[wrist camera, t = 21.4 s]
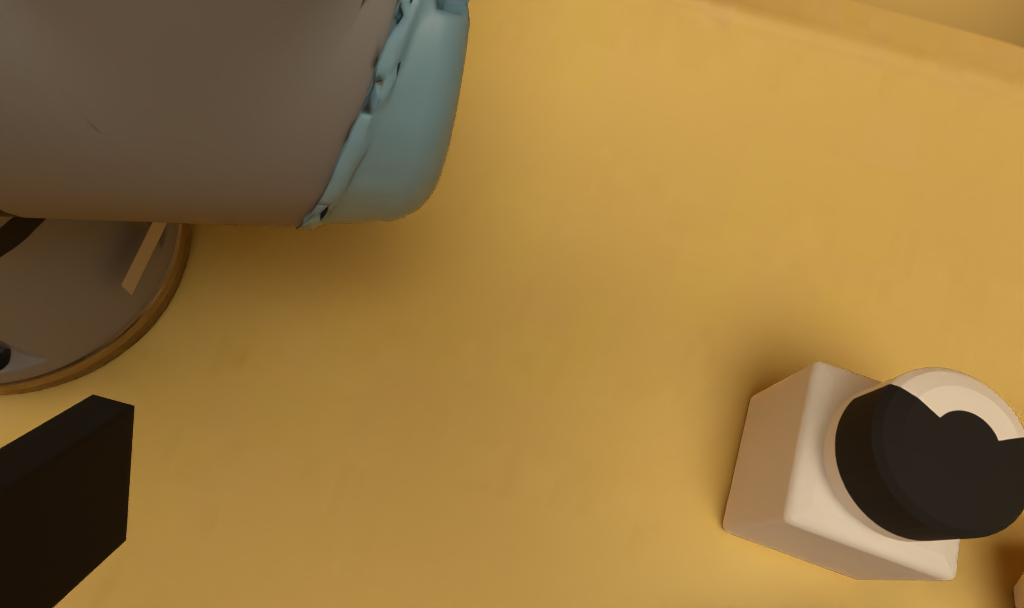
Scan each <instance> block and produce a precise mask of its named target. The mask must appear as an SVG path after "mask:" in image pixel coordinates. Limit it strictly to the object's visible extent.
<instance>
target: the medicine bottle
mask: <svg viewBox="0 0 1024 608" xmlns="http://www.w3.org/2000/svg"><path fill="white" fill-rule="evenodd" d="M1023 510H1024V428H1023V426H1022V424H1021V423H1020V421H1019V419H1018V418H1017V416H1016V415H1015V413H1014V412H1013V411H1012V409H1011V408H1010V407H1009V406H1008V404H1007V403H1006V402H1005V401H1004V400H1003V399H1002V398H1001V397H1000V396H999V395H997V394H996V393H995V392H994V391H993V390H992V389H990V388H989V387H988V386H986V385H985V384H983V383H982V382H980V381H979V380H977V379H975V378H973V377H971V376H969V375H967V374H964V373H962V372H959V371H956V370H952V369H948V368H940V367H926V368H921V369H916V370H913V371H910V372H907V373H905V374H902V375H900V376H898V377H895V378H893V379H890V380H888V381H886V382H883V383H882V382H879V381H876V380H874V379H871V378H868V377H865V376H862V375H860V374H857V373H854V372H851V371H848V370H846V369H843V368H840V367H837V366H834V365H832V364H829V363H826V362H823V361H817V362H815V363H813V364H811V365H809V366H807V367H805V368H803V369H802V370H800V371H798V372H796V373H794V374H792V375H791V376H789V377H787V378H785V379H783V380H781V381H780V382H778V383H776V384H774V385H772V386H770V387H769V388H767V389H765V390H763V391H761V392H759V393H758V394H756V395H754V396H752V398H751V400H750V403H749V408H748V412H747V417H746V421H745V426H744V430H743V435H742V439H741V444H740V448H739V453H738V457H737V462H736V466H735V471H734V475H733V480H732V484H731V489H730V493H729V498H728V502H727V507H726V511H725V515H724V520H723V528H724V530H725V531H726V532H728V533H730V534H732V535H735V536H738V537H741V538H744V539H746V540H749V541H752V542H755V543H757V544H760V545H763V546H766V547H768V548H771V549H774V550H777V551H779V552H782V553H785V554H788V555H790V556H793V557H796V558H799V559H801V560H804V561H807V562H810V563H813V564H815V565H818V566H821V567H824V568H826V569H829V570H832V571H835V572H837V573H840V574H843V575H846V576H848V577H851V578H854V579H859V580H920V581H950V580H952V579H953V578H955V575H956V570H957V561H958V551H959V542H960V539H970V538H980V537H986V536H990V535H993V534H996V533H998V532H1000V531H1002V530H1004V529H1005V528H1007V527H1008V526H1009V525H1011V524H1012V523H1013V522H1014V521H1015V520H1016V519H1017V518H1018V517H1019V515H1020V514H1021V513H1022V511H1023Z"/></svg>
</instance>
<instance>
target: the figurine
mask: <svg viewBox="0 0 1024 608" xmlns="http://www.w3.org/2000/svg"><path fill="white" fill-rule="evenodd" d="M1013 591H1014V599H1015V607H1016V608H1024V573H1023V575H1022V576H1021V578H1020V579H1019V581H1018V582H1017V583H1016V585H1015V586H1014V588H1013Z"/></svg>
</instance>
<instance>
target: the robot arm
mask: <svg viewBox="0 0 1024 608" xmlns="http://www.w3.org/2000/svg"><path fill="white" fill-rule="evenodd" d="M468 2H469V0H0V395H11V394H22V393H28V392H33V391H39V390H43V389H47V388H50V387H54V386H58V385H61V384H63V383H66V382H69V381H72V380H74V379H77V378H79V377H81V376H83V375H85V374H88V373H90V372H92V371H94V370H95V369H97V368H99V367H101V366H103V365H104V364H106V363H108V362H109V361H111V360H112V359H114V358H115V357H117V356H118V355H120V354H121V353H122V352H123V351H125V350H126V349H127V348H128V347H130V346H131V345H132V344H133V343H135V342H136V341H137V340H138V339H139V338H140V337H141V336H142V335H143V334H144V333H145V332H146V331H147V330H148V329H149V328H150V326H151V325H152V324H153V323H154V322H155V321H156V320H157V318H158V317H159V316H160V314H161V313H162V312H163V310H164V309H165V308H166V306H167V304H168V303H169V301H170V299H171V298H172V296H173V294H174V292H175V290H176V288H177V286H178V284H179V282H180V279H181V277H182V274H183V271H184V268H185V265H186V261H187V257H188V251H189V244H190V223H192V224H220V225H248V226H277V227H295V228H296V229H301V230H304V229H307V230H311V229H314V228H316V227H318V226H319V225H320V224H344V223H369V222H389V221H394V220H397V219H400V218H404V217H405V216H406V215H409V214H411V213H413V212H415V211H416V210H418V209H419V208H420V207H421V206H422V205H423V204H424V203H425V202H426V201H427V200H428V199H429V197H430V196H431V194H432V193H433V191H434V189H435V187H436V185H437V183H438V181H439V178H440V176H441V173H442V170H443V166H444V163H445V160H446V156H447V152H448V148H449V144H450V140H451V135H452V131H453V126H454V121H455V116H456V111H457V105H458V99H459V94H460V88H461V82H462V76H463V70H464V63H465V56H466V48H467V40H468V32H469V24H470V23H469V10H468ZM133 422H134V406H133V405H129V404H126V403H122V402H118V401H115V400H111V399H107V398H104V397H100V396H97V395H91V396H89V397H88V398H86V399H84V400H83V401H81V402H79V403H77V404H76V405H74V406H72V407H71V408H69V409H67V410H65V411H64V412H62V413H60V414H59V415H57V416H55V417H54V418H52V419H50V420H48V421H47V422H45V423H43V424H42V425H40V426H38V427H36V428H35V429H33V430H31V431H30V432H28V433H26V434H24V435H23V436H21V437H19V438H18V439H16V440H14V441H13V442H11V443H9V444H7V445H6V446H4V447H2V448H1V449H0V608H53V607H54V606H55V605H56V604H57V603H58V602H59V601H60V600H61V599H63V598H64V597H65V596H66V595H67V594H68V593H69V592H70V591H71V590H72V589H73V588H75V587H76V586H77V585H78V584H79V583H80V582H81V581H82V580H83V579H84V578H85V577H86V576H88V575H89V574H90V573H91V572H92V571H93V570H94V569H95V568H96V567H97V566H98V565H100V564H101V563H102V562H103V561H104V560H105V559H106V558H107V557H108V556H109V555H110V554H112V553H113V552H114V551H115V550H116V549H117V548H118V547H119V546H120V545H121V544H122V543H123V542H125V541H126V532H127V516H128V501H129V485H130V469H131V453H132V438H133Z"/></svg>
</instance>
